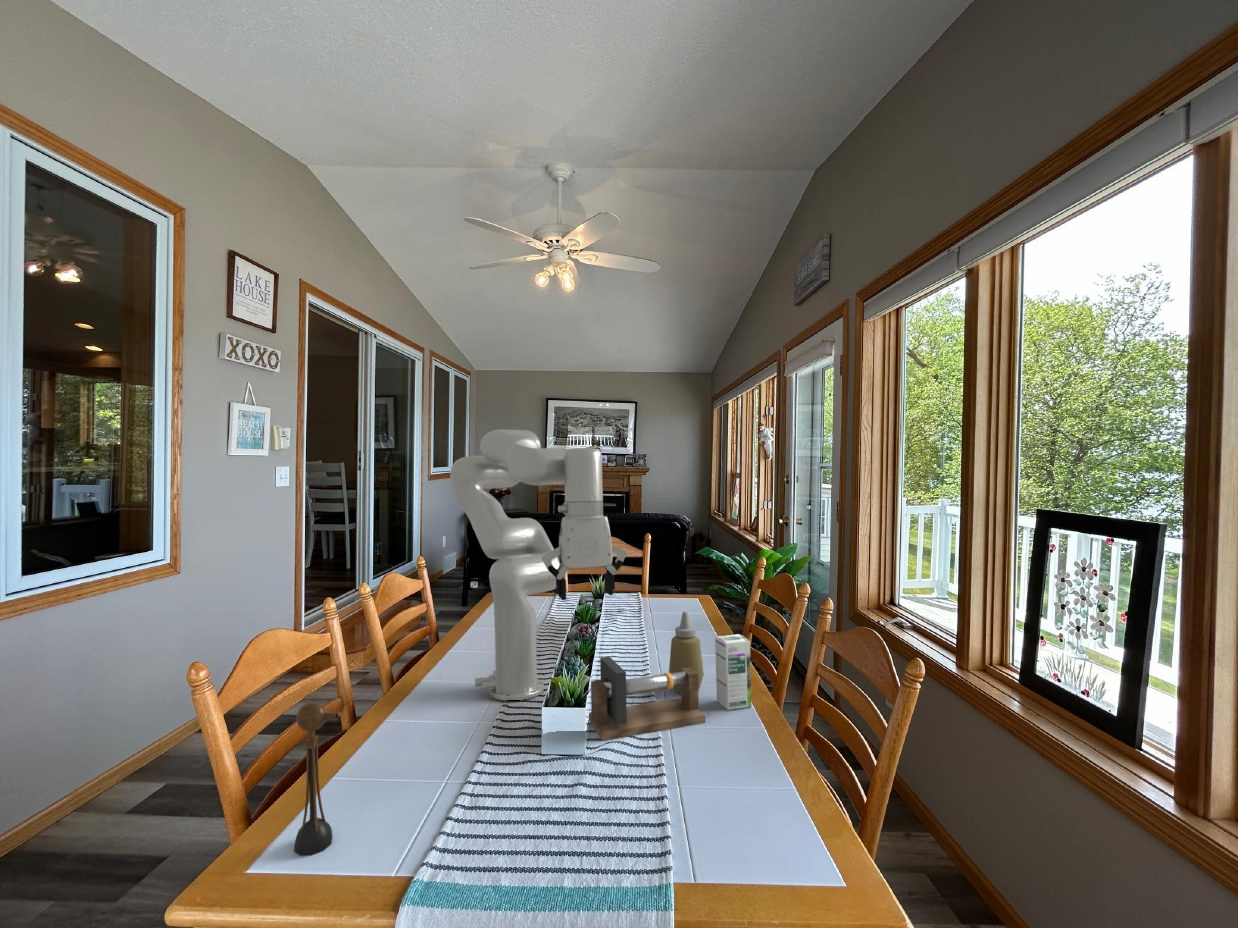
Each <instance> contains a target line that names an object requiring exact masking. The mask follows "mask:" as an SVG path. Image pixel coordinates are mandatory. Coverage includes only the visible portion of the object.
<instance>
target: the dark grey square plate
mask: <svg viewBox="0 0 1238 928" xmlns="http://www.w3.org/2000/svg"><path fill="white" fill-rule="evenodd" d="M599 662H600V665H599V666H600V669H599V670H600V671H599V672H600V680H601V681H602V682H603V683H606V682H610V683H611V693H612V698H607V714H608V715H609V716H610V717H611V719H612V720H613V721H614V722H615V724H616V725H622V724H627V710H626V706H627V695H626V679H627V672H626V671H625V670H624V669H623V668H622V667H621V666H620V665H619V664H618V663H617V662H616V661H614V659H613V658H612V657H611V656H603V657H600V659H599Z"/></svg>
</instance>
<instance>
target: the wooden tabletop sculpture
mask: <svg viewBox="0 0 1238 928" xmlns="http://www.w3.org/2000/svg"><path fill="white" fill-rule="evenodd" d="M338 718H339V712H338V711H332V712H328V711H327V712H326V709H325V707H324V706H323V705H322V704H320V703H318V702H316V701H313V702H307V703H305V704H304V705H302V706H301V707H300V708H299V710H297V713H296V718H295V719H296V720H295V721H296V724H297V726H298V727H299V728H300V729H301V730H302V731H307V732H308V736H307V737H305V740H304V741H305V749H306V752H305V753H306V754H305V756H306V784H305V786H306V787H305V788H306V789H305V790H306V791H305V804H304V814H303V819H302V820H303V821H302V825H301V827H300V828H299V829H298V831H297V834H296V837H295V841H294V848H293V849H294V853H295V854H297V855H298V856H303V857H304V856H312V855H315V854H318V853H320V852H321V853H322V852H324V851H325V850H326V849H327V848H328V847H330V846H331V845H332V843H333V831H332V830H333V829H332V827H331V825H330V823H328V821H326V818H325V814H324V809H323V803H322V799H321V797H322V796H321V789H320V778H319V777H320V776H319V773H320V772H319V770H320V769H319V740H318V738H319V735H317V734H316V735H315V733H316V730H319V729H321V727H323V725H324V724H325V722H327V721H337V720H338ZM317 800H318V807H319V812H320V816H321V817H318V810H317ZM308 805H309V807H308ZM308 808H309V809H308ZM308 810H309V820H307V815H308Z"/></svg>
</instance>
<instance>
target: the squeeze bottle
mask: <svg viewBox="0 0 1238 928" xmlns="http://www.w3.org/2000/svg"><path fill="white" fill-rule="evenodd" d="M674 631H675V634H674V635H675V636H673V637H672V638H671V643H670V652H669V655H670V656H669V665H668V667H669V668H668V673H674V672H681V668H687V667H690V668H691V669H693V670H694V671H696V672H697V673H698V692H699V691H700V688H701V684H702V681H703V678H704V676H705V675H704V666H703V657H702V656H703V655H702V649H701V648H702V647H701V639H700V638H699V637H698V636H697V635H696V627H695V626H692V625H691V622H690V617H689V613H688V611H683V612H682V614H681V619H680V625H679V626H678V625H677V626H676V627H675V630H674ZM673 690H674V691H675V692H676V693H678V694H681V687H678V688H673Z"/></svg>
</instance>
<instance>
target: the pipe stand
mask: <svg viewBox="0 0 1238 928" xmlns="http://www.w3.org/2000/svg"><path fill="white" fill-rule="evenodd" d="M678 687H681V693H680V694H681V695H680V697H674V698H670V699H664V700H659V701H658V700H656V701H652V702H650V701H649V702H644V703H639V704H632V705H626V710H627V724H622V725H616V724H615V722H614V721H613V720H612V719H611V717H610V716H609V715H608V714H607V698H612V693H611V683H610V682H606V683H603V682H602V681H601V679H600V680H599V679H598V680H597V679H596V680H592V681H590V701H591V703H590V704H591V707H590V708H591V710H590V711H591V712H590V713H589V712H588V713H589V721H590V723H589V725H591V727H592V728H593V730H594V731H595V733H596V735H597V736H598V737H599V738H600V740H601V741H602V742H604V741H609V740H610V741H611V740H615V739H621V738H627V737H632V736H637V735H643V734H648V733H653V732H659V731H665V730H670V729H671V730H672V729H677V728H682V727H687V726H693V725H698V724H703V723H704V724H705V723H706V714H705V713H704V712H702V711H701V710H700V709H699V691H698V673H697V672H696V671H694V670H693V669H691V668H690V667H687V668H681V672H674V673H669V672H665V673H661V674H654V675H648V676H641V677H635V678H628V679H627V678H626V696H631V695H638V694H643V693H645V694H646V693H650V692H651V693H652V692H657V691H663V690H664V691H665V690H666V691H668V690H672V689H674V688H678ZM589 721H588V722H589Z"/></svg>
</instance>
